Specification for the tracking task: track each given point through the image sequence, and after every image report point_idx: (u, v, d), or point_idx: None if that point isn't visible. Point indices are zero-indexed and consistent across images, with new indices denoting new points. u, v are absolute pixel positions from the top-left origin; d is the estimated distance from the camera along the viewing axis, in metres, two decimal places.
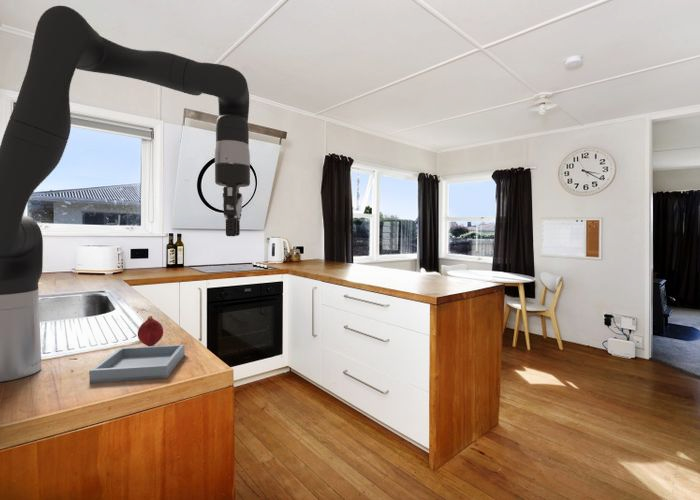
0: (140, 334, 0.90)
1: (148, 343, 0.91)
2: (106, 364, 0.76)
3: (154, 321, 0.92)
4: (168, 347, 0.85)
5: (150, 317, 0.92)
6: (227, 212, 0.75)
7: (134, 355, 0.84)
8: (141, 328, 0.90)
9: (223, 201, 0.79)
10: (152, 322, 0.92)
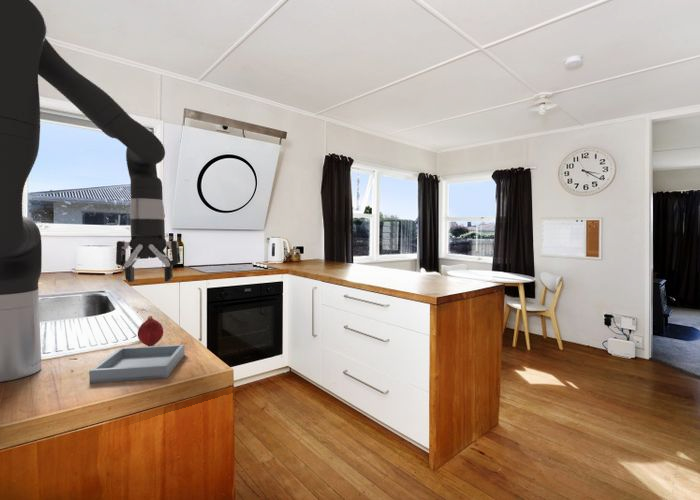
0: (140, 334, 0.90)
1: (148, 343, 0.91)
2: (106, 364, 0.76)
3: (154, 321, 0.92)
4: (168, 347, 0.85)
5: (150, 317, 0.92)
6: (178, 261, 0.93)
7: (134, 355, 0.84)
8: (141, 328, 0.90)
9: (159, 252, 0.90)
10: (152, 322, 0.92)
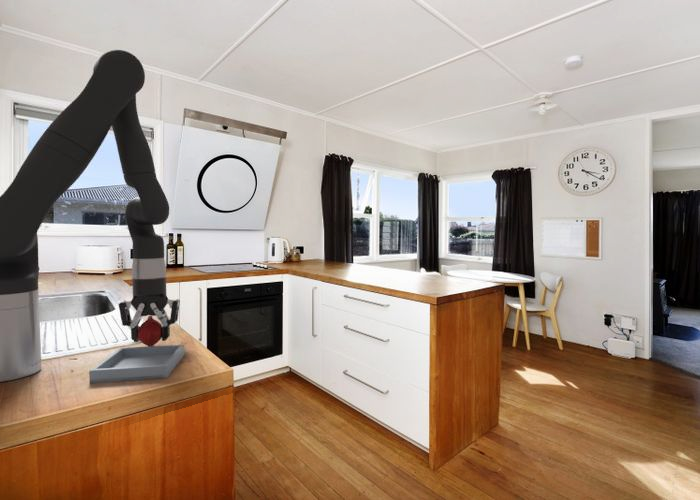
0: (140, 334, 0.90)
1: (148, 343, 0.91)
2: (106, 364, 0.76)
3: (154, 321, 0.92)
4: (168, 347, 0.85)
5: (150, 317, 0.92)
6: (175, 321, 0.93)
7: (134, 355, 0.84)
8: (141, 328, 0.90)
9: (159, 311, 0.91)
10: (152, 322, 0.92)
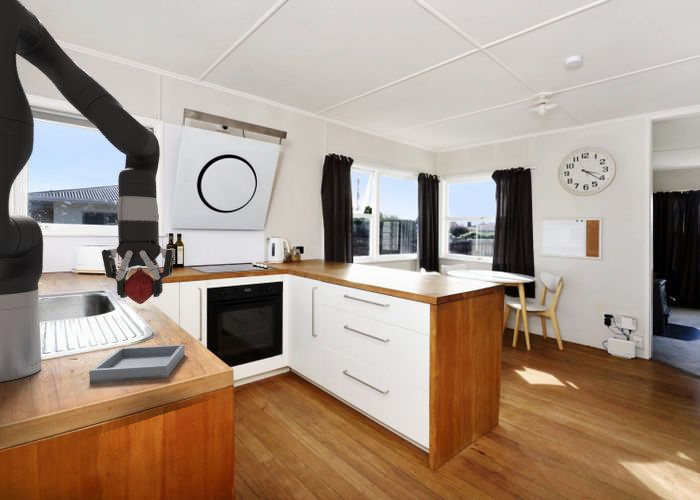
0: (128, 287, 0.76)
1: (137, 299, 0.76)
2: (106, 364, 0.76)
3: (144, 273, 0.78)
4: (168, 347, 0.85)
5: (140, 269, 0.78)
6: (169, 273, 0.79)
7: (134, 355, 0.84)
8: (129, 280, 0.76)
9: (150, 261, 0.77)
10: (142, 274, 0.77)
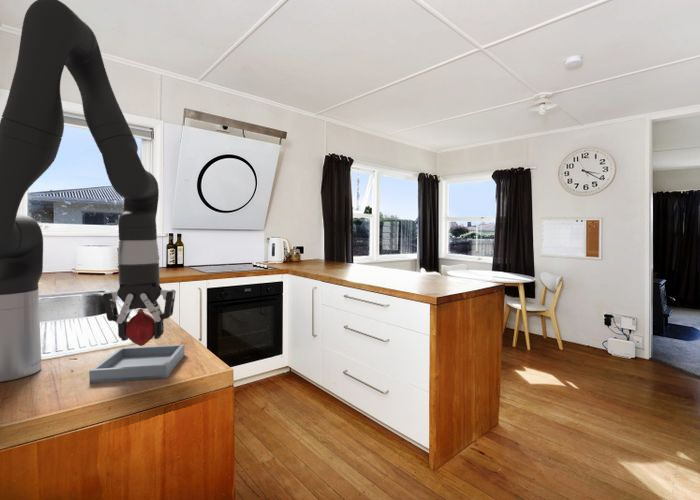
0: (128, 331, 0.76)
1: (138, 341, 0.76)
2: (106, 364, 0.76)
3: (145, 315, 0.78)
4: (168, 347, 0.85)
5: (140, 311, 0.78)
6: (170, 315, 0.79)
7: (134, 355, 0.84)
8: (130, 323, 0.76)
9: (151, 303, 0.77)
10: (143, 316, 0.77)
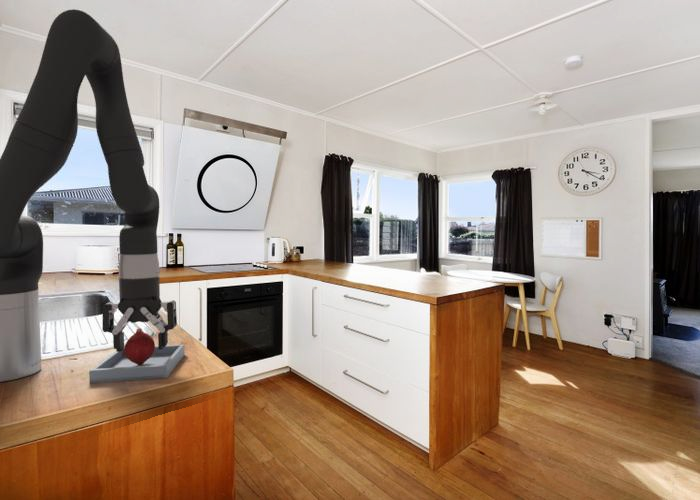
0: (127, 350, 0.76)
1: (137, 361, 0.77)
2: (106, 364, 0.76)
3: (144, 334, 0.78)
4: (168, 347, 0.85)
5: (139, 330, 0.78)
6: (174, 326, 0.79)
7: None
8: (128, 343, 0.76)
9: (153, 316, 0.77)
10: (142, 335, 0.78)
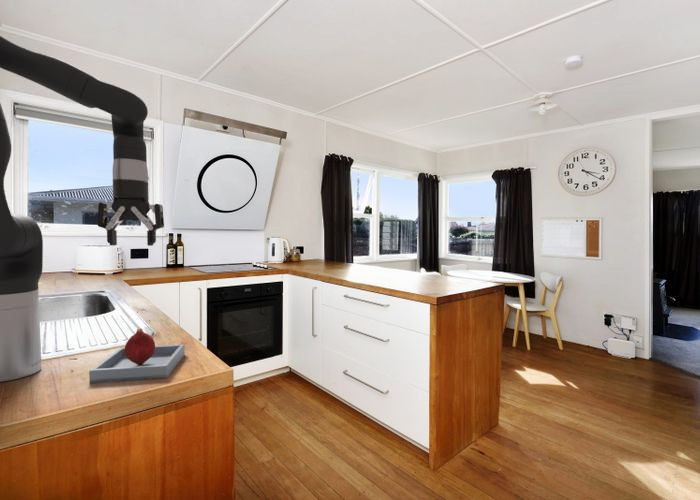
0: (127, 350, 0.76)
1: (137, 361, 0.77)
2: (106, 364, 0.76)
3: (144, 335, 0.78)
4: (168, 347, 0.85)
5: (139, 330, 0.78)
6: (161, 225, 0.90)
7: None
8: (129, 343, 0.76)
9: (142, 215, 0.88)
10: (142, 335, 0.78)
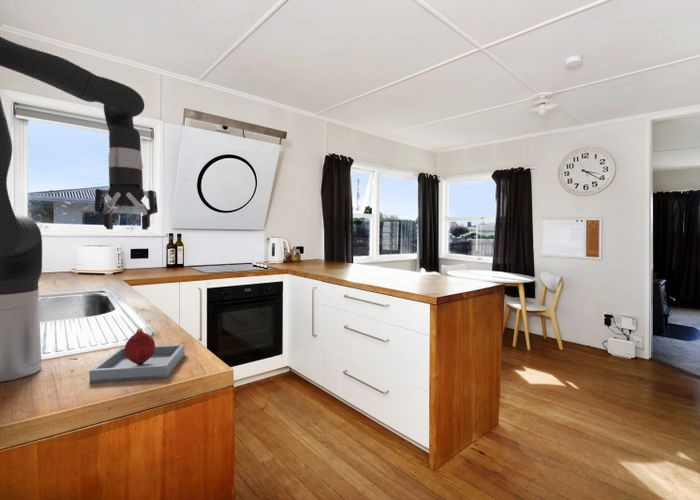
0: (127, 350, 0.76)
1: (137, 361, 0.77)
2: (106, 364, 0.76)
3: (144, 335, 0.78)
4: (168, 347, 0.85)
5: (139, 330, 0.78)
6: (155, 210, 0.96)
7: None
8: (129, 343, 0.76)
9: (136, 200, 0.94)
10: (142, 335, 0.78)
